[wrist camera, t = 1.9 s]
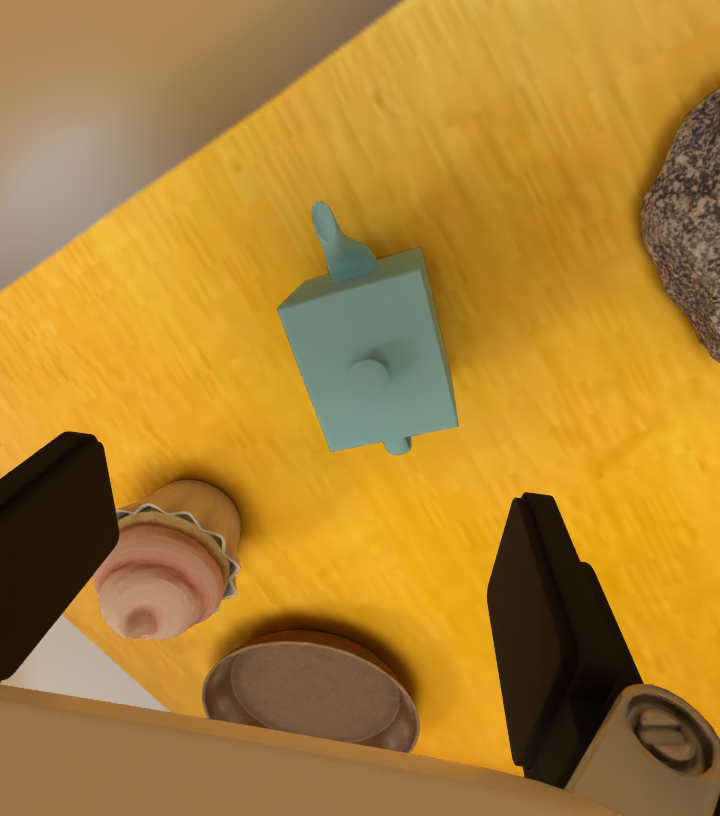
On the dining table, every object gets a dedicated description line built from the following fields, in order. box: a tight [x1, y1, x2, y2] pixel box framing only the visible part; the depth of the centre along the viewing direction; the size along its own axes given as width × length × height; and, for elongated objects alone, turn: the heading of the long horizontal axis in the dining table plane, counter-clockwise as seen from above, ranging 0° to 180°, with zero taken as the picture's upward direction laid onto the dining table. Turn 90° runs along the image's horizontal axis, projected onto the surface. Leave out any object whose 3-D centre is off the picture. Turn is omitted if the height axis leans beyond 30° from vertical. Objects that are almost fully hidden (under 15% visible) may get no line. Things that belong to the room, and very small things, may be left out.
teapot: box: [277, 201, 459, 455], centre depth 22 cm, size 12×6×8 cm, turn 17°
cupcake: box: [94, 480, 241, 640], centre depth 29 cm, size 9×9×10 cm
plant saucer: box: [202, 630, 420, 754], centre depth 40 cm, size 18×18×3 cm
